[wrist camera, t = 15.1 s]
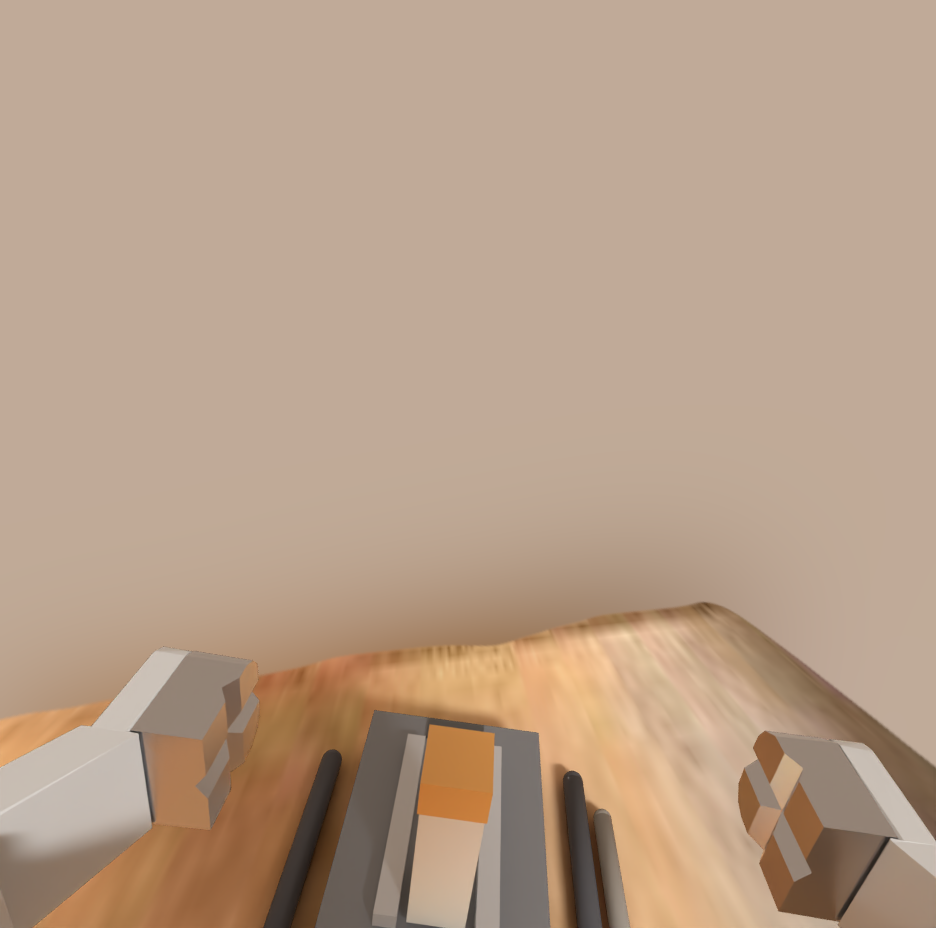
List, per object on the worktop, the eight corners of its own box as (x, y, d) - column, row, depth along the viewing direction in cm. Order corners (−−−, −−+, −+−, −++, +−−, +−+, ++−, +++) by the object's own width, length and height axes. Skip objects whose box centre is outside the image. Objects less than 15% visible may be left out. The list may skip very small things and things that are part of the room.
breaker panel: (371, 749, 43) (375, 699, 41) (529, 771, 43) (540, 722, 41) (301, 1022, 28) (301, 965, 26) (541, 1057, 28) (559, 1002, 26)
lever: (413, 859, 32) (429, 724, 28) (470, 867, 32) (494, 733, 28) (403, 924, 29) (420, 783, 25) (466, 933, 29) (492, 793, 25)
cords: (328, 746, 43) (329, 732, 42) (602, 784, 43) (606, 771, 42) (236, 1014, 28) (235, 999, 28) (651, 1075, 28) (658, 1060, 27)
